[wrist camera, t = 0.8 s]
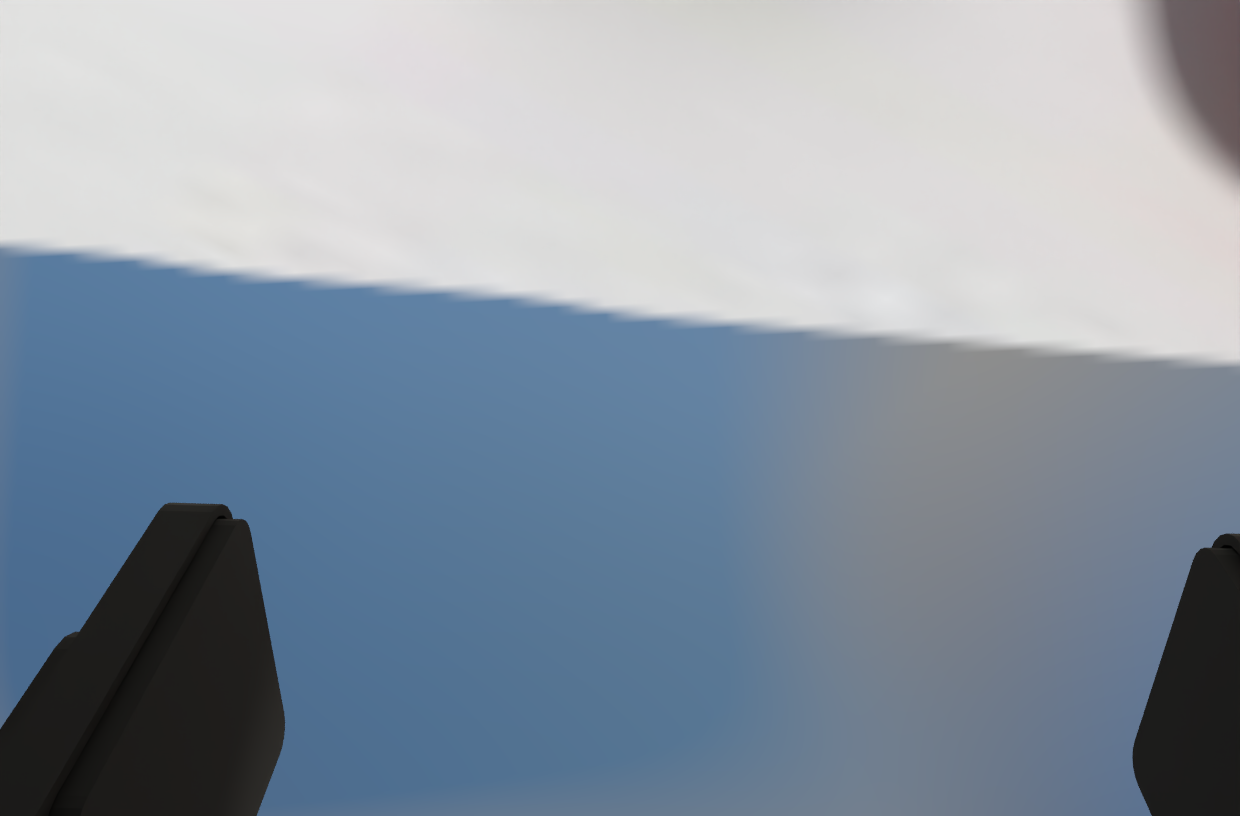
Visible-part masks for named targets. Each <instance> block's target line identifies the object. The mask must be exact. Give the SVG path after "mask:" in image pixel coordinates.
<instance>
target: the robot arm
mask: <svg viewBox="0 0 1240 816" xmlns="http://www.w3.org/2000/svg"><path fill="white" fill-rule="evenodd" d="M284 731H285V717H284V710H283V704H282V699H281V694H280V689H279V683H278V677H277V673H276V667H275V661H274V656H273V650H272V646H271V640H270V634H269V629H268V623H267V618H266V613H265V607H264V602H263V596H262V592H261V585H260V580H259V575H258V569H257V564H256V559H255V553H254V548H253V542H252V537H251V532H250V528H249V525H248V523H247V522H246V521H245V520H243V519H233V518H232V514H231V512H230V510H229V509H228V507H227V506H225V505H223V504H196V503H168V504H165V505H164V506H163V507H162V508H161V509H160V510H159V511H158V513H157V514H156V516H155V517H154V519H153V520H152V522H151V523H150V525H149V526H148V528H147V530H146V531H145V533H144V534H143V536H142V537H141V539H140V540H139V542H138V543H137V545H136V546H135V548H134V549H133V551H132V552H131V554H130V555H129V557H128V559H127V560H126V562H125V563H124V565H123V566H122V568H121V569H120V571H119V572H118V574H117V576H116V577H115V578H114V580H113V581H112V583H111V584H110V586H109V587H108V589H107V591H106V592H105V594H104V595H103V597H102V598H101V600H100V601H99V603H98V604H97V606H96V607H95V609H94V611H93V612H92V613H91V615H90V617H89V618H88V620H87V621H86V623H85V624H84V626H83V627H82V629H81V630H80V632H74V633H72V634H70V635H68V636H66V637H64V638H63V639H62V641H61V642H60V643H59V644H58V645H57V646H56V647H55V649H54V650H53V652H52V653H51V654H50V656H49V657H48V659H47V661H46V662H45V663H44V665H43V666H42V668H41V669H40V671H39V673H38V674H37V675H36V677H35V678H34V680H33V681H32V683H31V684H30V686H29V687H28V689H27V690H26V692H25V693H24V695H23V696H22V698H21V699H20V701H19V702H18V704H17V705H16V707H15V708H14V710H13V711H12V713H11V714H10V716H9V717H8V718H7V720H6V722H5V723H4V725H3V726H2V727H1V729H0V816H257V813H258V810H259V807H260V805H261V803H262V800H263V797H264V794H265V792H266V789H267V787H268V784H269V781H270V779H271V776H272V774H273V771H274V768H275V766H276V763H277V760H278V757H279V755H280V752H281V749H282V745H283V739H284ZM1133 768H1134V773H1135V777H1136V780H1137V783H1138V786H1139V788H1140V790H1141V792H1142V795H1143V797H1144V799H1145V801H1146V803H1147V806H1148V808H1149V810H1150V813H1151V815H1152V816H1240V534H1224V535H1220V536H1219V537H1218V538H1217V539H1216V540H1215V542H1214V544H1213V546H1212V548H1203V549H1200V550H1199V551H1198V552H1197V553H1196V555H1195V558H1194V560H1193V562H1192V565H1191V569H1190V572H1189V575H1188V578H1187V581H1186V584H1185V587H1184V590H1183V593H1182V596H1181V599H1180V603H1179V606H1178V609H1177V612H1176V615H1175V618H1174V621H1173V624H1172V627H1171V630H1170V634H1169V637H1168V640H1167V643H1166V646H1165V649H1164V652H1163V655H1162V658H1161V661H1160V664H1159V668H1158V671H1157V674H1156V677H1155V680H1154V683H1153V687H1152V689H1151V693H1150V695H1149V699H1148V702H1147V705H1146V708H1145V711H1144V715H1143V717H1142V720H1141V723H1140V726H1139V730H1138V733H1137V736H1136V739H1135V743H1134V747H1133Z"/></svg>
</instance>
